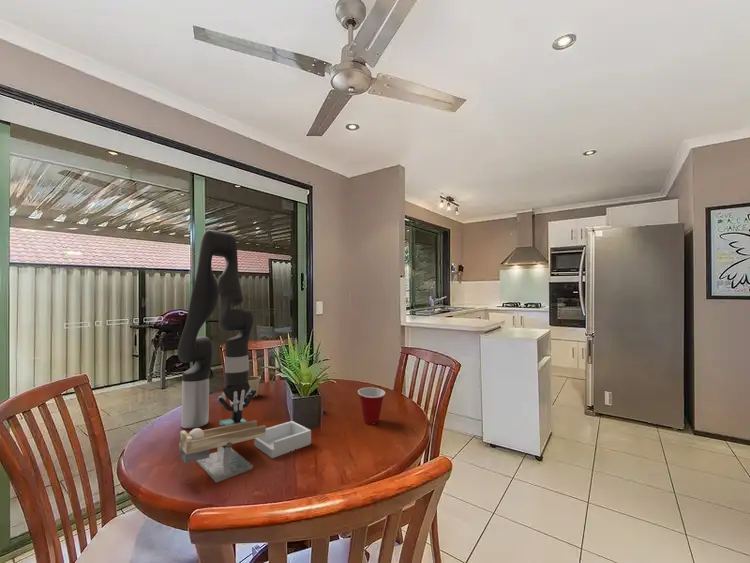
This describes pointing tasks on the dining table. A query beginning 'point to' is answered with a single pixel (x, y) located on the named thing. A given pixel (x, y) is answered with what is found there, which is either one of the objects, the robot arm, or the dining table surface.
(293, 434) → the tray
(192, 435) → the ball
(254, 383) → the flower pot
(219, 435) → the lever
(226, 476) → the lever stand
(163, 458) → the dining table surface
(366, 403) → the plastic cup
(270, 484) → the dining table surface
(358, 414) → the dining table surface
